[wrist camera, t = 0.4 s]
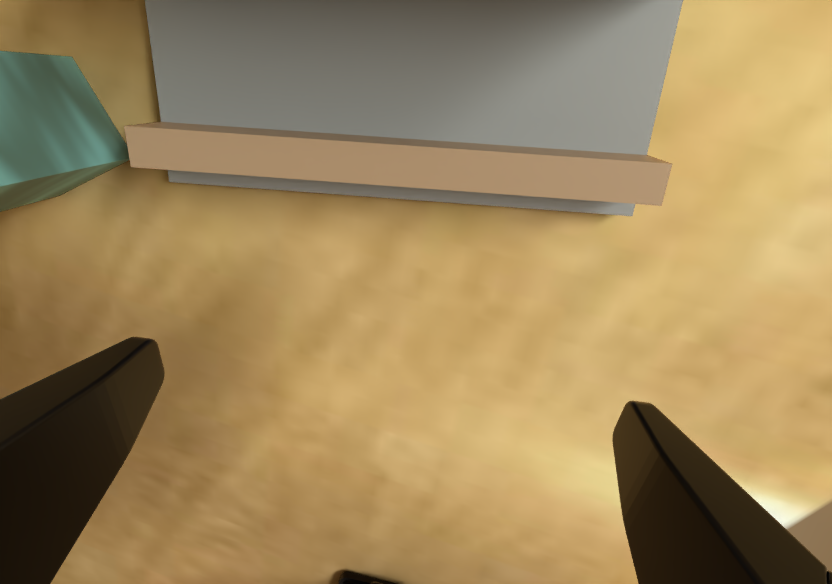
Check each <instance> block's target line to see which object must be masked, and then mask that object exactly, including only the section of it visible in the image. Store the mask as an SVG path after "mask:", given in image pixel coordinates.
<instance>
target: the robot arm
mask: <svg viewBox="0 0 832 584" xmlns="http://www.w3.org/2000/svg"><path fill="white" fill-rule="evenodd" d="M163 380H164V367H163V363H162V359H161V355H160V351H159V347H158V344H157V342H156V341H155V340H153V339H150V338H142V337H130V338H128V339H126V340H124V341H122V342H120V343H118V344H115V345H113V346H111V347H109V348H107V349H105V350H103V351H101V352H99V353H97V354H94V355H92V356H90V357H88V358H86V359H84V360H82V361H80V362H78V363H76V364H74V365H71V366H69V367H67V368H65V369H63V370H61V371H59V372H57V373H55V374H53V375H51V376H48V377H46V378H44V379H42V380H40V381H38V382H36V383H34V384H32V385H30V386H27V387H25V388H23V389H21V390H19V391H17V392H15V393H13V394H11V395H9V396H7V397H4V398H2V399H0V584H50V583H51V582H52V580H53V578H54V577H55V575H56V573H57V572H58V570H59V568H60V567H61V565H62V564H63V562H64V560H65V559H66V557H67V555H68V554H69V552H70V550H71V549H72V547H73V545H74V544H75V542H76V541H77V539H78V537H79V536H80V534H81V532H82V531H83V529H84V527H85V526H86V524H87V522H88V521H89V519H90V517H91V516H92V514H93V513H94V511H95V509H96V508H97V506H98V504H99V503H100V501H101V499H102V498H103V496H104V494H105V493H106V491H107V490H108V488H109V486H110V485H111V483H112V481H113V480H114V478H115V476H116V475H117V473H118V471H119V470H120V468H121V467H122V465H123V463H124V461H125V460H126V458H127V456H128V454H129V453H130V451H131V449H132V447H133V445H134V443H135V441H136V439H137V437H138V435H139V432H140V430H141V428H142V426H143V424H144V422H145V420H146V418H147V415H148V413H149V411H150V409H151V407H152V405H153V403H154V401H155V398H156V396H157V394H158V392H159V390H160V388H161V386H162V383H163ZM613 449H614V456H615V464H616V472H617V479H618V487H619V494H620V502H621V509H622V515H623V521H624V526H625V530H626V535H627V539H628V543H629V547H630V551H631V555H632V559H633V563H634V567H635V571H636V575H637V579H638V583H639V584H832V572H831V571H827V569H826V566H825V565H824V564H822V562H820V561H819V560H818V559H817V558H816V557H815V556H814V555H813V554H812V553H811V552H810V551H809V550H808V549H807V548H805V547H804V546H803V545H802V544H801V543H800V542H799V541H798V540H797V539H796V538H795V537H794V536H793V535H792V534H791V533H790V532H788V531H787V530H786V529H785V528H784V527H783V526H782V525H781V524H780V523H779V522H778V521H777V520H776V519H775V518H774V517H772V516H771V515H770V514H769V513H768V512H767V511H766V510H765V509H764V508H763V507H762V506H761V505H760V504H759V503H758V502H756V501H755V500H754V499H753V498H752V497H751V496H750V495H749V494H748V493H747V492H746V491H745V490H744V489H743V488H742V487H741V486H739V485H738V484H737V483H736V482H735V481H734V480H733V479H732V478H731V477H730V476H729V475H728V474H727V473H726V472H725V471H723V470H722V469H721V468H720V467H719V466H718V465H717V464H716V463H715V462H714V461H713V460H712V459H711V458H710V457H709V456H707V455H706V454H705V453H704V452H703V451H702V450H701V449H700V448H699V447H698V446H697V445H696V444H695V443H694V442H693V441H691V440H690V439H689V438H688V437H687V436H686V435H685V434H684V433H683V432H682V431H681V430H680V429H679V428H678V427H677V426H675V425H674V424H673V423H672V422H671V421H670V420H669V419H668V418H667V417H666V416H665V415H664V414H663V413H662V412H661V411H659V410H658V409H657V408H656V407H655V406H654V405H652V404H650V403H646V402H638V401H629V402H628V403H627V404H626V405H625V407H624V409H623V411H622V413H621V415H620V418H619V420H618V422H617V424H616V426H615V429H614V432H613ZM338 584H394V583H390V582H386V581H382V580H379V579H375V578H371V577H367V576H363V575H359V574H355V573H351V572H344V573H342V574H341V577H340V580H339V583H338Z"/></svg>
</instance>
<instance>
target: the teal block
mask: <svg viewBox="0 0 832 584" xmlns="http://www.w3.org/2000/svg"><path fill="white" fill-rule="evenodd" d="M128 160H130V159H129V153H128V147H127V145H126V143H125V142H124V140H123V138H122V137H121V135H120V133H119V132H118V130H117V129H116V127H115V125H114V124H113V122H112V121H111V119H110V117H109V116H108V114H107V112H106V111H105V109H104V108H103V106H102V104H101V103H100V101H99V100H98V98H97V96H96V95H95V93H94V92H93V90H92V88H91V87H90V85H89V83H88V82H87V80H86V79H85V77H84V75H83V74H82V72H81V71H80V69H79V67H78V66H77V64H76V62H75V61H74V59H73V58H72V57H69V56H57V55H45V54H33V53H20V52H8V51H0V212H1V211H5V210H9V209H12V208H16V207H20V206H23V205H27V204H31V203H34V202H38V201H42V200H45V199H49V198H53V197H56V196H60V195H62V194H63V193H65V192H67V191H69V190H71V189H73V188H75V187H77V186H79V185H81V184H83V183H85V182H87V181H89V180H91V179H93V178H95V177H97V176H99V175H101V174H103V173H105V172H107V171H109V170H111V169H112V168H114V167H116V166H118V165H120V164H122V163H124V162H126V161H128Z"/></svg>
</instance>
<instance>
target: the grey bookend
mask: <svg viewBox="0 0 832 584" xmlns="http://www.w3.org/2000/svg"><path fill="white" fill-rule="evenodd" d="M682 2H683V0H145V6H146V13H147V21H148V28H149V36H150V43H151V50H152V58H153V65H154V73H155V80H156V87H157V95H158V102H159V110H160V117H161V122H154V123H146V124H137V125H128V126H124V128H125V134H126V140H127V147H128V153H129V159H130V165H131V167H136V168H150V169H164V170H168V176H169V182H177V183H191V184H204V185H218V186H231V187H245V188H259V189H272V190H286V191H299V192H313V193H326V194H340V195H353V196H367V197H380V198H394V199H407V200H421V201H434V202H448V203H462V204H475V205H489V206H502V207H516V208H529V209H543V210H556V211H570V212H583V213H597V214H610V215H624V216H633V211H634V207H635V204H644V205H658V206H662V202H663V198H664V194H665V190H666V187H667V183H668V179H669V175H670V171H671V167H672V164H671V163H668V162H665V161H662V160H660V159H657V158H654V157H651V156H648V155H647V152H648V147H649V143H650V139H651V134H652V130H653V126H654V122H655V117H656V113H657V109H658V105H659V100H660V96H661V92H662V88H663V83H664V79H665V75H666V70H667V66H668V62H669V58H670V53H671V49H672V45H673V41H674V36H675V32H676V28H677V23H678V19H679V15H680V11H681V6H682Z"/></svg>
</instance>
